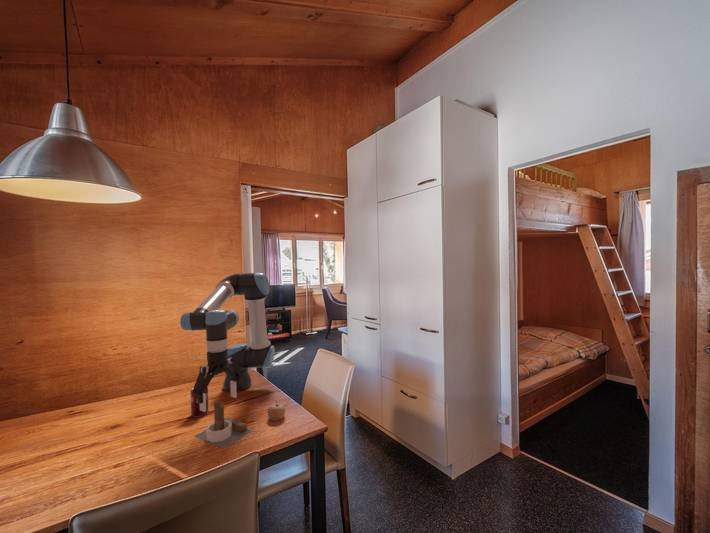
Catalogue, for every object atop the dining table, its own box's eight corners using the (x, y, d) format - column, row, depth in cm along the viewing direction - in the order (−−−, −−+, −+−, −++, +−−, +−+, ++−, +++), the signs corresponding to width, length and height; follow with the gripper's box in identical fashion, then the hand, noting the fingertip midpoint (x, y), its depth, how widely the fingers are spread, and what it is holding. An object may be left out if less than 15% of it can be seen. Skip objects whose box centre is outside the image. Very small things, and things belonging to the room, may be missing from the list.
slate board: (224, 422, 137) (224, 420, 137) (253, 433, 127) (253, 430, 127) (193, 438, 125) (193, 435, 125) (223, 451, 115) (222, 448, 115)
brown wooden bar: (220, 431, 126) (219, 401, 126) (224, 432, 125) (223, 402, 125) (214, 434, 124) (214, 403, 124) (218, 435, 123) (218, 404, 123)
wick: (222, 425, 132) (222, 419, 132) (227, 423, 134) (227, 417, 134) (241, 432, 126) (241, 426, 126) (246, 429, 128) (246, 423, 128)
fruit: (267, 417, 140) (267, 399, 140) (284, 415, 143) (284, 397, 143) (268, 425, 133) (267, 406, 133) (286, 422, 135) (285, 404, 135)
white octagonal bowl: (222, 427, 130) (222, 418, 130) (236, 433, 126) (236, 423, 126) (202, 438, 123) (201, 428, 123) (216, 444, 118) (216, 434, 118)
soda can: (211, 410, 149) (211, 385, 149) (202, 417, 142) (202, 391, 142) (197, 410, 150) (196, 384, 150) (187, 417, 143) (186, 390, 143)
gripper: (237, 341, 137) (239, 390, 137) (180, 357, 115) (182, 414, 116) (249, 343, 133) (250, 393, 133) (192, 360, 112) (194, 419, 112)
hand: (219, 403), depth 125 cm, fingers open, 13 cm apart
